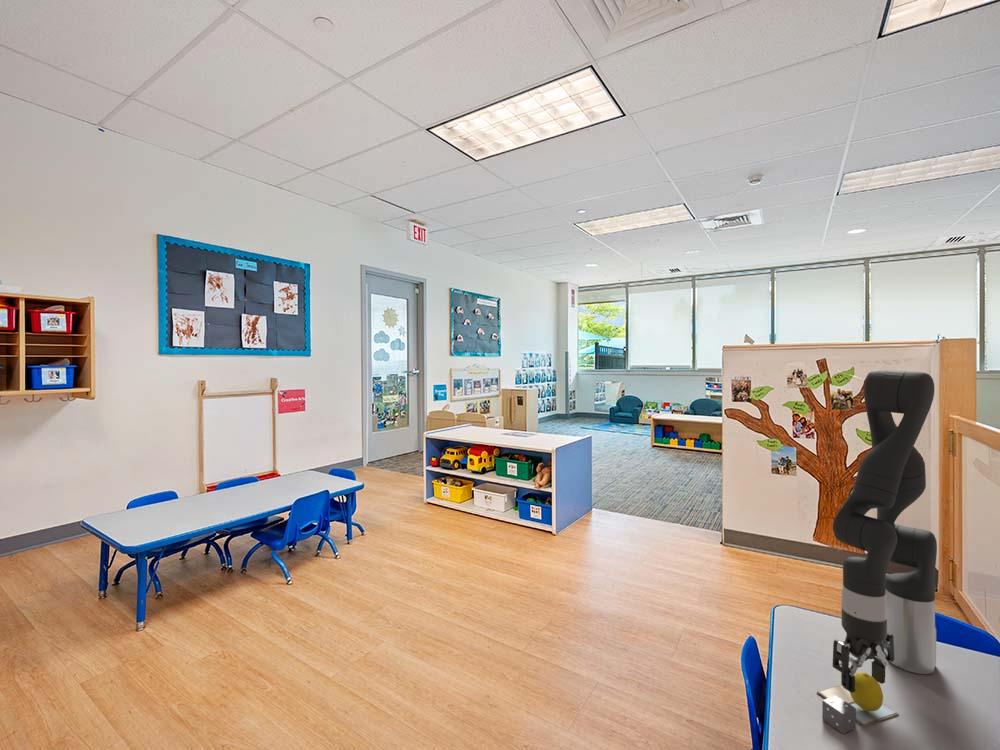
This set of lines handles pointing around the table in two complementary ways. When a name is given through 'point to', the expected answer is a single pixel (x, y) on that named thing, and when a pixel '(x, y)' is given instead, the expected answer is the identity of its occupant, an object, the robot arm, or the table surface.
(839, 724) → the die
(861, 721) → the board
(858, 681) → the lemon
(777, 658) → the table surface
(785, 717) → the table surface
